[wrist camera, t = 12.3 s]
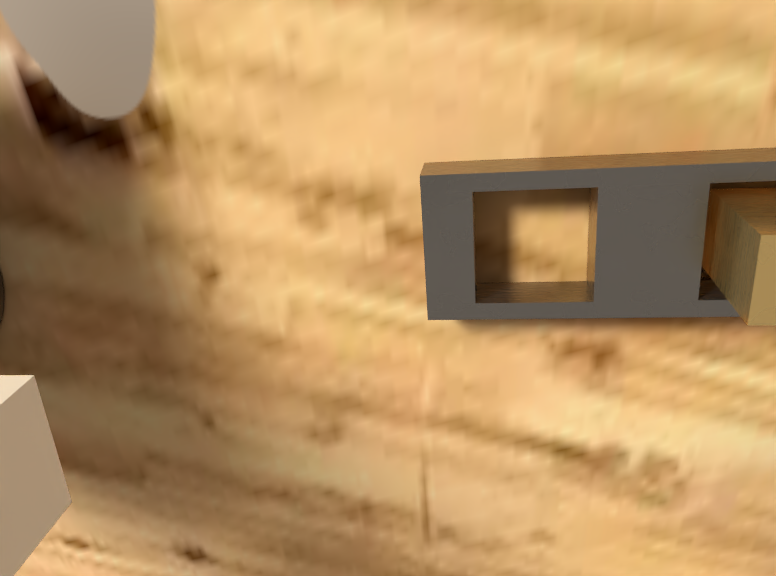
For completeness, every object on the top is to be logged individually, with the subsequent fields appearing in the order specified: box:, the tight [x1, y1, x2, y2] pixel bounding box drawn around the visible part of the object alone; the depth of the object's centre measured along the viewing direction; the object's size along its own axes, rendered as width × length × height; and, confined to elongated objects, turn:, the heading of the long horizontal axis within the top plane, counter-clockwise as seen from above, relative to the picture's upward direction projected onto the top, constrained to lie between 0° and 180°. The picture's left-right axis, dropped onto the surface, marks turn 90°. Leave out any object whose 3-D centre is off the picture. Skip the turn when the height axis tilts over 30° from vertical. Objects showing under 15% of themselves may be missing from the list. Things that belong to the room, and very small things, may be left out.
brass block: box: [702, 188, 776, 326], centre depth 36 cm, size 4×4×8 cm
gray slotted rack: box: [420, 148, 776, 320], centre depth 39 cm, size 24×8×3 cm, turn 94°
